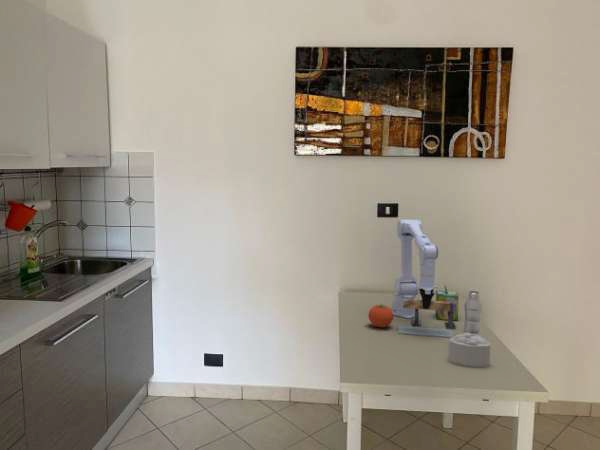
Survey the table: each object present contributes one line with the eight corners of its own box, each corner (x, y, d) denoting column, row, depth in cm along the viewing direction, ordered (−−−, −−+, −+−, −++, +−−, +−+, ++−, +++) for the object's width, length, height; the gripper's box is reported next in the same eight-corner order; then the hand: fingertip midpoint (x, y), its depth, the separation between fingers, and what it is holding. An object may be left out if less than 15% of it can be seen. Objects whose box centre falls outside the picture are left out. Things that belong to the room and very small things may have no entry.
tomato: (397, 327, 201) (398, 303, 200) (383, 332, 194) (384, 308, 193) (377, 321, 208) (377, 299, 207) (363, 326, 201) (364, 303, 200)
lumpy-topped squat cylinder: (491, 367, 160) (493, 342, 159) (452, 365, 160) (453, 340, 160) (481, 355, 170) (483, 332, 169) (444, 354, 171) (446, 330, 170)
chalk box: (457, 321, 211) (459, 288, 210) (436, 319, 213) (437, 287, 211) (455, 315, 220) (457, 284, 219) (434, 314, 222) (436, 282, 220)
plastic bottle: (479, 341, 185) (482, 291, 183) (480, 347, 178) (483, 294, 176) (462, 339, 187) (464, 289, 185) (462, 345, 180) (464, 293, 178)
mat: (398, 333, 192) (398, 332, 192) (398, 327, 201) (398, 325, 201) (452, 338, 188) (452, 336, 188) (450, 331, 197) (450, 329, 197)
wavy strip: (403, 307, 194) (403, 300, 194) (403, 305, 197) (403, 298, 197) (449, 311, 191) (449, 303, 190) (448, 309, 193) (449, 301, 193)
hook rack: (411, 325, 203) (412, 312, 203) (411, 321, 210) (411, 308, 209) (455, 329, 200) (456, 315, 199) (454, 324, 206) (454, 311, 205)
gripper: (439, 278, 185) (437, 313, 186) (436, 271, 199) (434, 303, 200) (420, 277, 186) (418, 311, 187) (418, 270, 200) (417, 302, 201)
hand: (425, 307), depth 194 cm, fingers closed on wavy strip, 3 cm apart
